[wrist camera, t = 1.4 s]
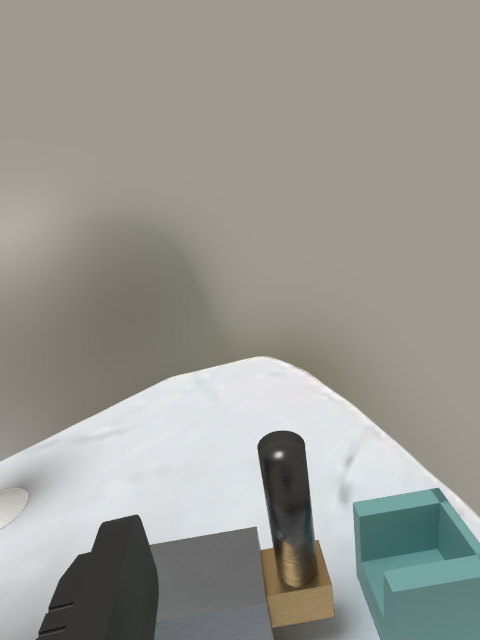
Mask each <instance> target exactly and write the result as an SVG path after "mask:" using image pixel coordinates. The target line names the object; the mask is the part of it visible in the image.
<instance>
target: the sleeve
mask: <svg viewBox="0 0 480 640" xmlns="http://www.w3.org/2000/svg"><path fill="white" fill-rule="evenodd" d="M149 546H150V549H151V552H152V555H153V558H154V562H155V565H156V568H157V574H158V582H159V601H158V610H157V618H156V627H155V635H154V640H275V635H274V628H272V627H271V622H270V616H269V611H268V605H267V600H266V592H265V585H264V577H263V569H262V562H261V554H260V550H261V548H260V543H259V537H258V532H257V527H251V528H246V529H240V530H234V531H228V532H222V533H217V534H211V535H205V536H199V537H193V538H187V539H182V540H176V541H170V542H164V543H158V544H153V545H149Z"/></svg>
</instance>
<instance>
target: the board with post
mask: <svg viewBox="0 0 480 640" xmlns="http://www.w3.org/2000/svg"><path fill="white" fill-rule="evenodd" d="M258 455H259V461H260V467H261V474H262V480H263V486H264V492H265V498H266V505H267V511H268V517H269V523H270V529H271V536H272V542H273V548H270V549H264V550H260V554H261V562H262V569H263V577H264V585H265V592H266V600H267V605H268V611H269V616H270V622H271V627H272V628H275V627H281V626H286V625H292V624H298V623H303V622H309V621H315V620H320V619H326V618H332V617H335V616H334V605H333V593H332V584H331V581H330V577H329V574H328V571H327V567H326V564H325V560H324V557H323V554H322V550H321V547H320V544H319V540H316V541H315V536H314V527H313V517H312V508H311V498H310V489H309V479H308V470H307V461H306V451H305V443H304V440H303V439H302V438H301V436H299V435H298V434H296V433H294V432H290V431H275V432H272V433H269V434H267V435H266V436H264V437H263V438H262V439H261V440H260V441H259V443H258Z"/></svg>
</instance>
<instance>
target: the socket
mask: <svg viewBox="0 0 480 640" xmlns="http://www.w3.org/2000/svg"><path fill="white" fill-rule="evenodd" d="M353 512H354V531H355V549H356V568H357V577H358V580H359V582H360V585H361V588H362V590H363V593H364V596H365V599H366V601H367V604H368V607H369V609H370V612H371V615H372V617H373V620H374V623H375V626H376V628H377V631H378V634H379V636H380V639H381V640H480V543H479V542H478V540H477V539H476V538H475V536H474V535H473V533H472V532H471V531H470V529H469V528H468V527H467V525H466V524H465V523H464V521H463V520H462V519H461V517H460V516H459V515H458V513H457V512H456V511H455V509H454V508H453V507H452V505H451V504H450V503H449V501H448V500H447V499H446V497H445V496H444V495H443V493H442V492H441V490H440V489H439V488H435V489H429V490H423V491H417V492H412V493H406V494H400V495H394V496H388V497H383V498H377V499H371V500H365V501H359V502H353Z"/></svg>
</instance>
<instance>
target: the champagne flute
mask: <svg viewBox="0 0 480 640" xmlns="http://www.w3.org/2000/svg"><path fill="white" fill-rule="evenodd" d="M27 501H28V492H27V491H26V490H25V489H23V488H8V489H5V490H1V491H0V529H1V528H3V527H4V526H6V525H8V524H9V523H10V522H11V521H13V520H14V519H15V518H16V517H17V516H18V515H19V514H20V513H21V512H22V510H23V509H24V507H25V506H26V504H27Z"/></svg>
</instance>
